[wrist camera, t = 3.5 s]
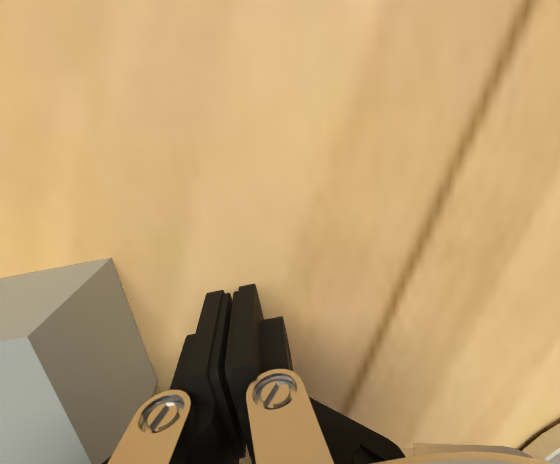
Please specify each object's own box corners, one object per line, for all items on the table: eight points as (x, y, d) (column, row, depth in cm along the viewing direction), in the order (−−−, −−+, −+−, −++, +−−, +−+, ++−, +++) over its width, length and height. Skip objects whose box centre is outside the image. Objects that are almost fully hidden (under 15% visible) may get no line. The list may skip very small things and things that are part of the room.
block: (112, 256, 13) (27, 336, 8) (158, 379, 15) (110, 501, 10) (-40, 284, 13) (-211, 380, 8) (25, 403, 15) (-83, 535, 10)
